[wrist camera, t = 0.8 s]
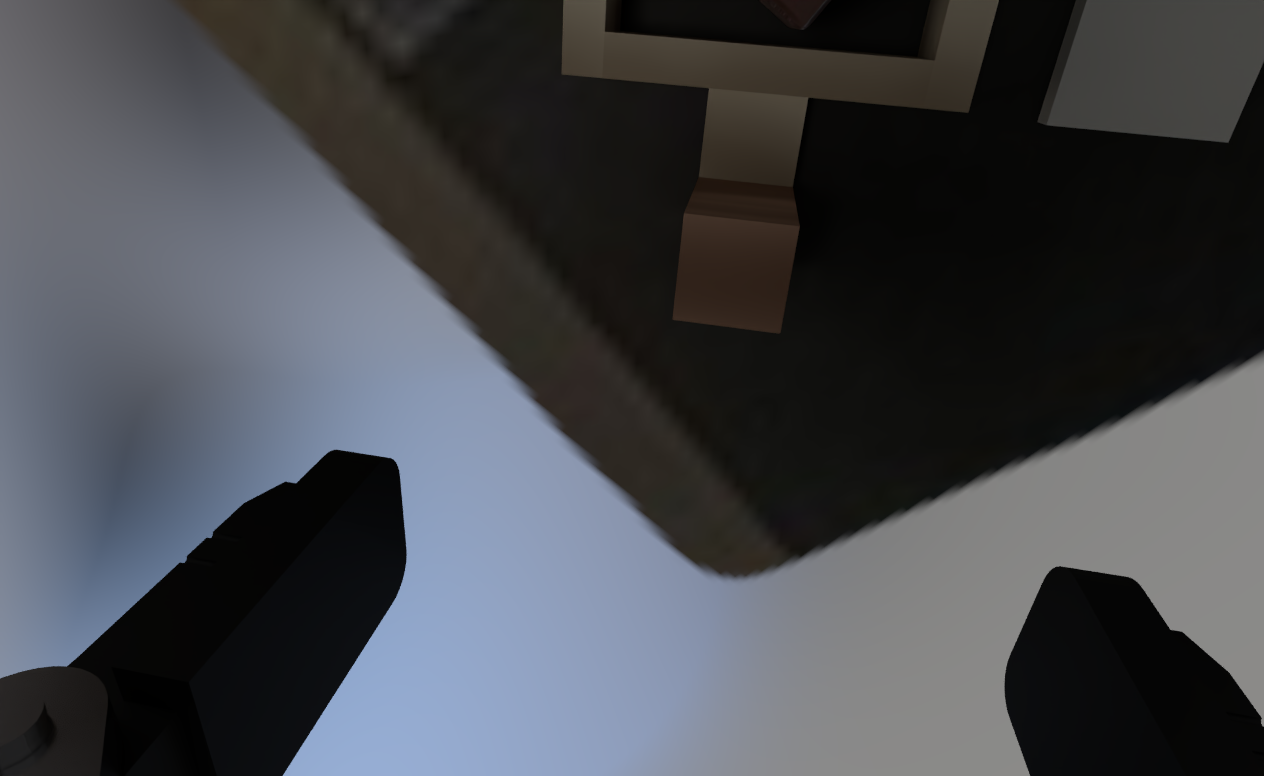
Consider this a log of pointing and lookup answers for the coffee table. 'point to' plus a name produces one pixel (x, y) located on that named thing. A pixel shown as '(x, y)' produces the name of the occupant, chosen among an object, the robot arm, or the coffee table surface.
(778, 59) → the wooden open tray
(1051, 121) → the pair of grey tiles
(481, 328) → the coffee table surface
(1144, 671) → the robot arm
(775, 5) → the box
